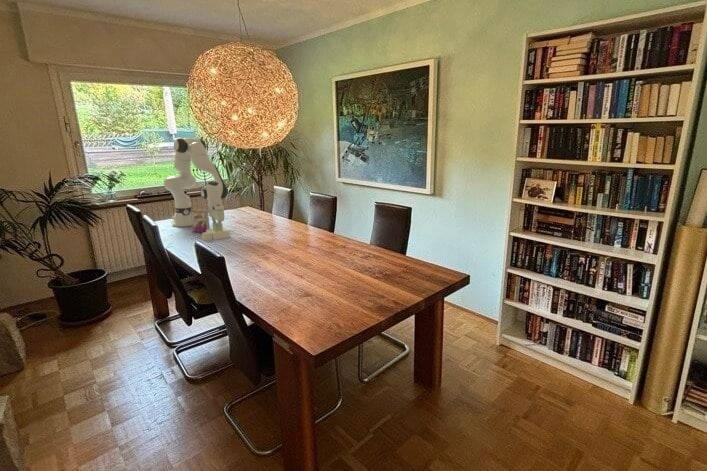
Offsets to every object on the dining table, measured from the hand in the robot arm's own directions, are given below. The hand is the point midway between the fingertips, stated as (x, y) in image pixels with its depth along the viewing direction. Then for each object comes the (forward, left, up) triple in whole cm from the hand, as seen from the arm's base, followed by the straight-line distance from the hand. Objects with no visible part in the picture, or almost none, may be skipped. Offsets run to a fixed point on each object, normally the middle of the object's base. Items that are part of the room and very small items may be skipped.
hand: (217, 225), depth 252 cm
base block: (0, 0, -9) cm, 9 cm away
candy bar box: (-20, -5, -8) cm, 22 cm away
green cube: (0, 0, -4) cm, 4 cm away
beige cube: (+4, -9, -8) cm, 13 cm away
